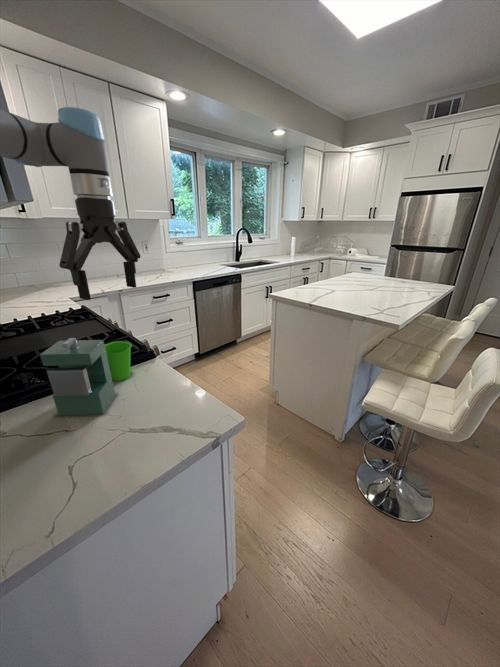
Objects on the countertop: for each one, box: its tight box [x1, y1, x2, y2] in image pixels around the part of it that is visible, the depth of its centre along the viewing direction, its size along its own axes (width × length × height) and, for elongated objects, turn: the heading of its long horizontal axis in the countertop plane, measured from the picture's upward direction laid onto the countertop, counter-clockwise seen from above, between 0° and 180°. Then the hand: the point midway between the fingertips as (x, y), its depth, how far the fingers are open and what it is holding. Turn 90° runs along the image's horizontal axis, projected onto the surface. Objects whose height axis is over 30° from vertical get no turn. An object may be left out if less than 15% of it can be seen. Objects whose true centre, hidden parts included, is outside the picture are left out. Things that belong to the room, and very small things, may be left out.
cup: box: [104, 340, 133, 382], centre depth 86 cm, size 9×9×11 cm
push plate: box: [46, 367, 92, 396], centre depth 66 cm, size 8×2×7 cm, turn 94°
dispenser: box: [39, 337, 116, 416], centre depth 71 cm, size 11×8×20 cm
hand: (110, 292), depth 69 cm, fingers open, 13 cm apart
